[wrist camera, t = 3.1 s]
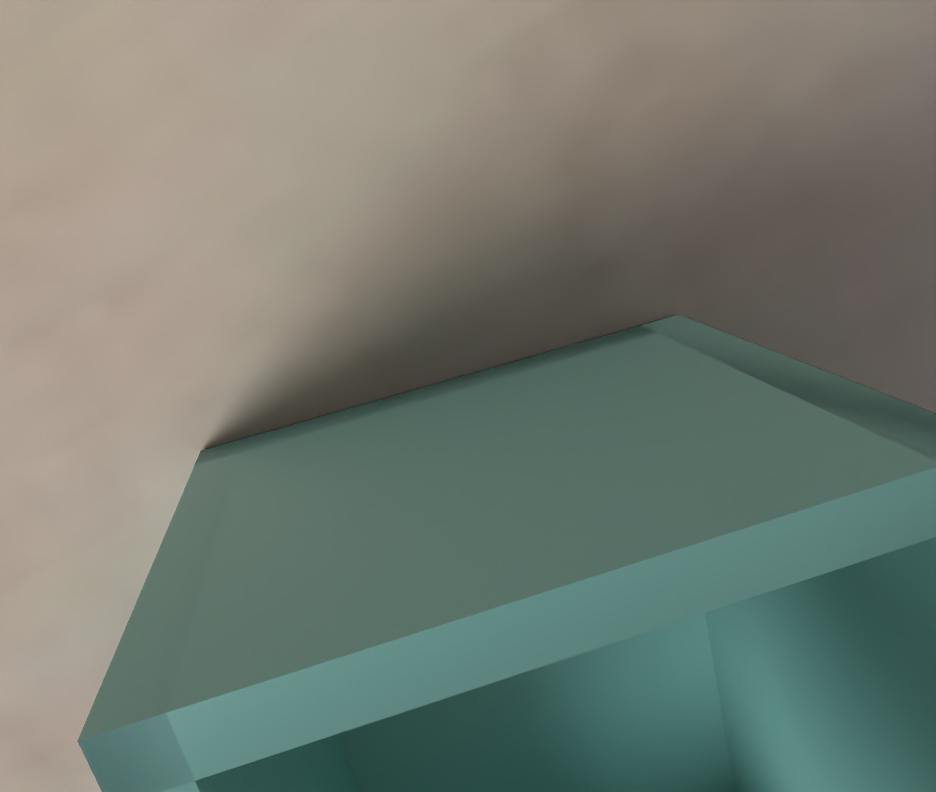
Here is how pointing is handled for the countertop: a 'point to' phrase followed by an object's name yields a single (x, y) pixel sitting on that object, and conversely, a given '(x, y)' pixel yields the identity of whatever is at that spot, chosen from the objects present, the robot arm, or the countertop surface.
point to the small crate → (548, 588)
